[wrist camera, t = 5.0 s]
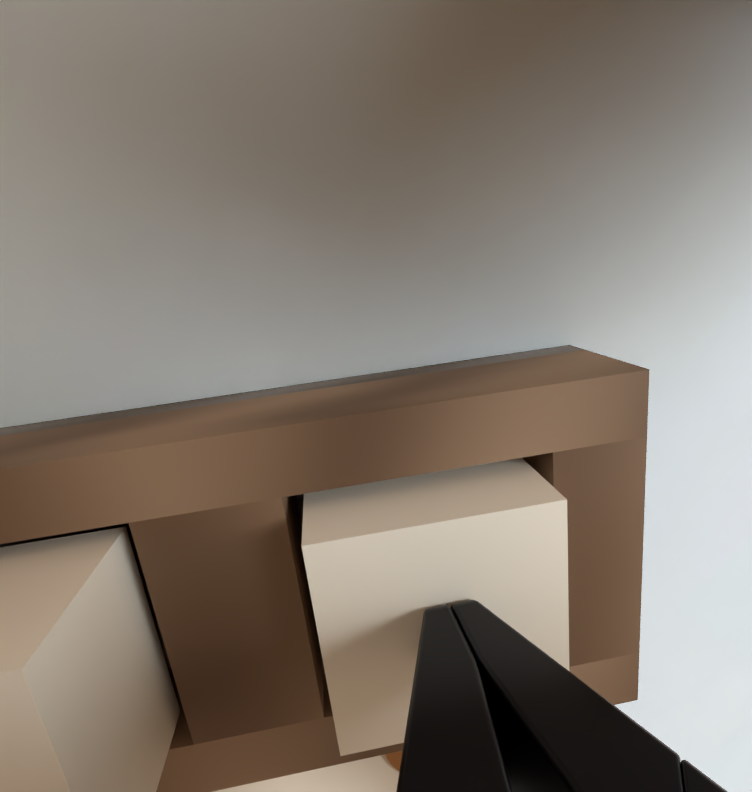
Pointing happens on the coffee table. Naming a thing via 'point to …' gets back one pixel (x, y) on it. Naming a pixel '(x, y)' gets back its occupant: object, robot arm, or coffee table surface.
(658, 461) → the coffee table surface
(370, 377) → the button board
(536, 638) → the button
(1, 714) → the button middle
